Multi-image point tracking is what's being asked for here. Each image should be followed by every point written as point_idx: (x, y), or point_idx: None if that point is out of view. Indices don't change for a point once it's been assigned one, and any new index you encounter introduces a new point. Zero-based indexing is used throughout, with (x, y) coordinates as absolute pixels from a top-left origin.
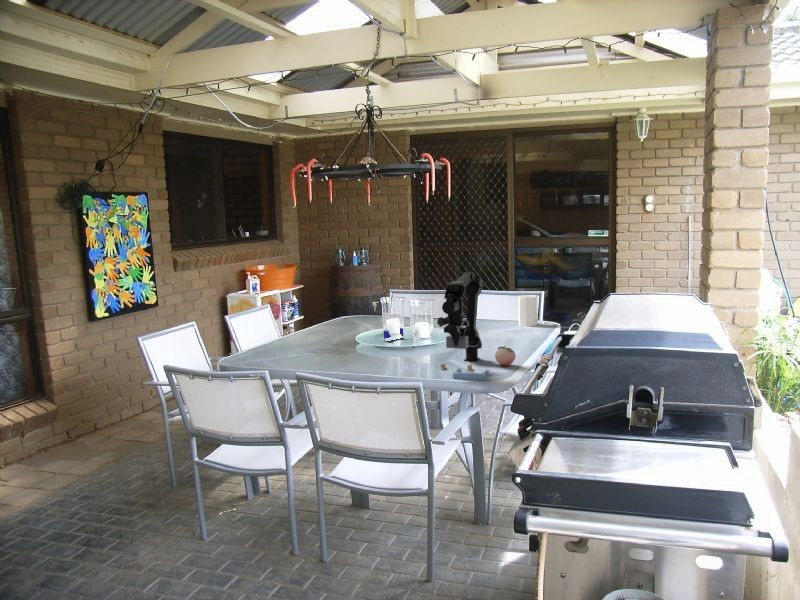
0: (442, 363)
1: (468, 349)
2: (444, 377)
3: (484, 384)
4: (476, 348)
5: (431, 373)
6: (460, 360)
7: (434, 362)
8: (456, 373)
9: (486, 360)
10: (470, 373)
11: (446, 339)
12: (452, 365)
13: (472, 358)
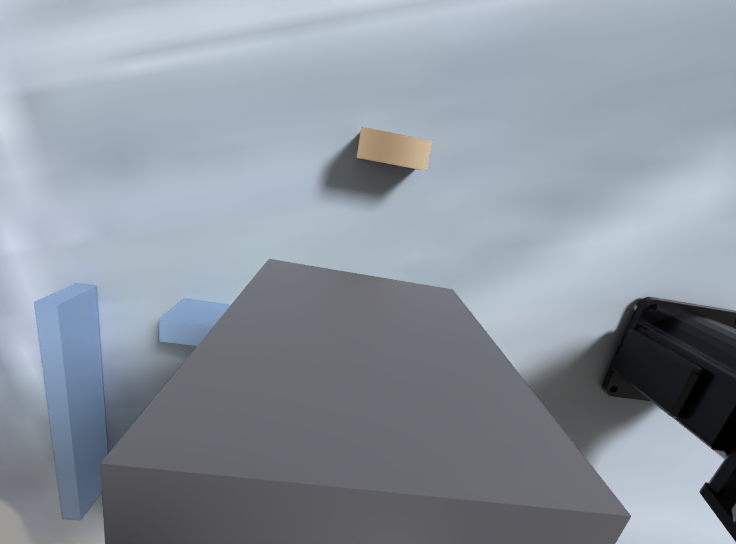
0: (401, 143)
1: (726, 400)
2: (95, 209)
3: (6, 489)
4: (713, 476)
5: (207, 54)
6: (686, 264)
7: (666, 11)
8: (41, 333)
9: (639, 438)
10: (69, 436)
11: (178, 378)
12: (518, 220)
13: (625, 378)
